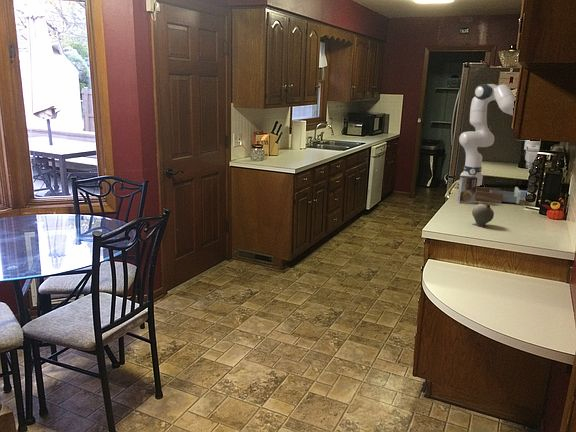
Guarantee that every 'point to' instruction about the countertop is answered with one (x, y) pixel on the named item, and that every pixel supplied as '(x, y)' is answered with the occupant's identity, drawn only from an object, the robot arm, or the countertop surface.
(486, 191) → the box
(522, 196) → the block
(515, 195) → the tray
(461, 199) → the coffee box
